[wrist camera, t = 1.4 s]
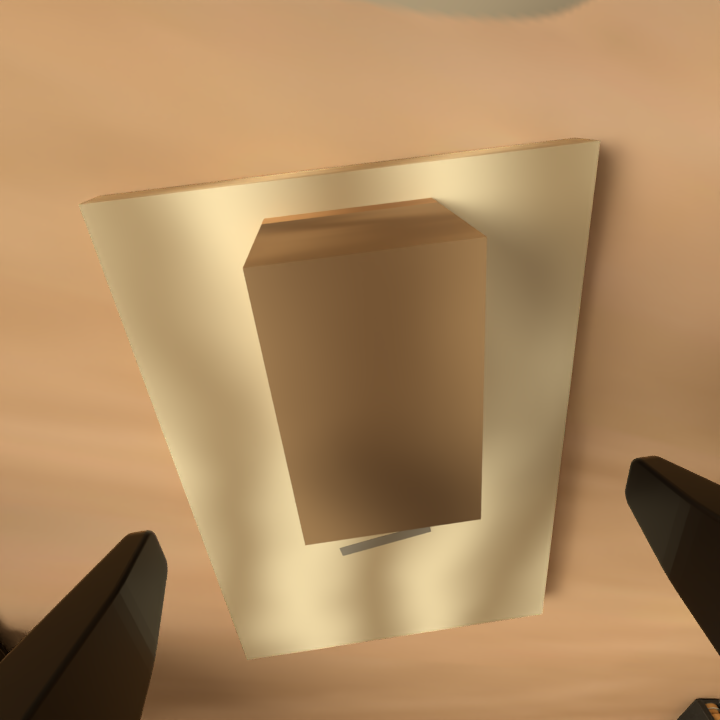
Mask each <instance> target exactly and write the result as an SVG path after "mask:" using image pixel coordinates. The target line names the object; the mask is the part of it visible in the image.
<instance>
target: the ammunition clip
mask: <svg viewBox="0 0 720 720" xmlns="http://www.w3.org/2000/svg"><path fill="white" fill-rule="evenodd" d="M677 720H720V700H709V699H696V700H695V701H694V702H693V703H692V704H691V705H690V706H689V707H688V708H687V709H686V711H685V712H684V713H683V714H682V715H681V716H680V717H679V718H678V719H677Z"/></svg>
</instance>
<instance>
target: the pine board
mask: <svg viewBox="0 0 720 720" xmlns="http://www.w3.org/2000/svg"><path fill="white" fill-rule="evenodd" d="M599 149H600V141H599V140H590V139H581V138H570V139H562V140H554V141H546V142H537V143H529V144H521V145H513V146H505V147H496V148H488V149H480V150H472V151H464V152H455V153H447V154H439V155H431V156H423V157H415V158H406V159H398V160H390V161H382V162H374V163H365V164H357V165H349V166H341V167H333V168H324V169H316V170H308V171H300V172H292V173H283V174H275V175H267V176H259V177H251V178H242V179H234V180H226V181H218V182H210V183H201V184H193V185H185V186H177V187H169V188H160V189H152V190H144V191H136V192H128V193H119V194H111V195H103V196H98V197H96V198H93V199H91V200H88V201H86V202H84V203H81V204H79V207H80V210H81V213H82V215H83V218H84V221H85V223H86V226H87V229H88V231H89V234H90V237H91V240H92V242H93V245H94V248H95V250H96V253H97V256H98V258H99V261H100V264H101V267H102V269H103V272H104V275H105V277H106V280H107V283H108V286H109V288H110V291H111V294H112V296H113V299H114V302H115V304H116V307H117V310H118V313H119V315H120V318H121V321H122V323H123V326H124V329H125V331H126V334H127V337H128V340H129V342H130V345H131V348H132V350H133V353H134V356H135V358H136V361H137V364H138V367H139V369H140V372H141V375H142V377H143V380H144V383H145V386H146V388H147V391H148V394H149V396H150V399H151V402H152V404H153V407H154V410H155V413H156V415H157V418H158V421H159V423H160V426H161V429H162V431H163V434H164V437H165V440H166V442H167V445H168V448H169V450H170V453H171V456H172V458H173V461H174V464H175V467H176V469H177V472H178V475H179V477H180V480H181V483H182V486H183V488H184V491H185V494H186V496H187V499H188V502H189V504H190V507H191V510H192V513H193V515H194V518H195V521H196V523H197V526H198V529H199V531H200V534H201V537H202V540H203V542H204V545H205V548H206V550H207V553H208V556H209V558H210V561H211V564H212V567H213V569H214V572H215V575H216V577H217V580H218V583H219V585H220V588H221V591H222V594H223V596H224V599H225V602H226V604H227V607H228V610H229V613H230V615H231V618H232V621H233V623H234V626H235V629H236V631H237V634H238V637H239V640H240V642H241V645H242V648H243V650H244V653H245V656H246V658H247V660H252V659H258V658H265V657H271V656H277V655H284V654H290V653H297V652H303V651H309V650H316V649H322V648H329V647H335V646H342V645H348V644H354V643H361V642H367V641H374V640H380V639H386V638H393V637H399V636H406V635H412V634H418V633H425V632H431V631H438V630H444V629H451V628H457V627H463V626H470V625H476V624H483V623H489V622H495V621H502V620H508V619H515V618H521V617H527V616H534V615H540V614H542V612H543V604H544V596H545V588H546V579H547V571H548V563H549V555H550V547H551V539H552V531H553V523H554V514H555V506H556V498H557V490H558V482H559V474H560V466H561V457H562V449H563V441H564V433H565V425H566V417H567V409H568V401H569V392H570V384H571V376H572V368H573V360H574V352H575V344H576V336H577V327H578V319H579V311H580V303H581V295H582V287H583V279H584V271H585V262H586V254H587V246H588V238H589V230H590V222H591V214H592V206H593V197H594V189H595V181H596V173H597V165H598V157H599ZM425 198H433V199H435V200H436V201H437V202H439V203H440V204H442V205H443V206H444V207H446V208H447V209H449V210H450V211H451V212H453V213H454V214H456V215H457V216H458V217H460V218H461V219H463V220H464V221H466V222H467V223H468V224H470V225H471V226H473V227H474V228H475V229H477V230H478V231H480V232H481V233H482V234H484V235H485V236H487V262H486V310H485V357H484V404H483V451H482V499H481V519H480V520H473V521H466V522H460V523H453V524H446V525H439V526H433V527H426V528H419V529H413V530H406V531H399V532H392V533H386V534H379V535H372V536H365V537H359V538H352V539H345V540H338V541H332V542H325V543H318V544H311V545H305V542H304V538H303V533H302V529H301V525H300V520H299V516H298V511H297V507H296V502H295V498H294V494H293V489H292V485H291V480H290V476H289V471H288V467H287V463H286V458H285V454H284V449H283V445H282V440H281V436H280V432H279V427H278V423H277V418H276V414H275V409H274V405H273V401H272V396H271V392H270V387H269V383H268V378H267V374H266V370H265V365H264V361H263V356H262V352H261V347H260V343H259V339H258V334H257V330H256V325H255V321H254V316H253V312H252V308H251V303H250V299H249V294H248V290H247V285H246V281H245V277H244V272H243V266H244V264H245V261H246V259H247V257H248V254H249V252H250V250H251V247H252V245H253V243H254V240H255V238H256V236H257V233H258V231H259V229H260V226H261V224H262V222H263V219H265V218H273V217H281V216H289V215H297V214H305V213H313V212H321V211H329V210H337V209H345V208H353V207H361V206H369V205H377V204H385V203H393V202H401V201H409V200H417V199H425Z"/></svg>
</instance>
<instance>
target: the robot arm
mask: <svg viewBox="0 0 720 720" xmlns="http://www.w3.org/2000/svg"><path fill="white" fill-rule="evenodd" d="M625 496H626V500H627V503H628V505H629V507H630V509H631V510H632V512H633V514H634V516H635V518H636V520H637V522H638V524H639V525H640V527H641V529H642V531H643V533H644V535H645V537H646V538H647V540H648V542H649V544H650V546H651V548H652V550H653V552H654V553H655V555H656V557H657V559H658V561H659V563H660V565H661V566H662V568H663V570H664V572H665V573H666V575H667V577H668V579H669V580H670V582H671V583H672V585H673V586H674V588H675V590H676V591H677V593H678V594H679V596H680V597H681V599H682V600H683V602H684V603H685V605H686V606H687V608H688V609H689V611H690V612H691V614H692V615H693V617H694V618H695V620H696V621H697V623H698V624H699V626H700V627H701V629H702V630H703V632H704V633H705V635H706V636H707V638H708V639H709V640H710V642H711V643H712V645H713V646H714V648H715V649H716V651H717V652H718V654H719V655H720V485H719V484H716V483H714V482H712V481H710V480H708V479H706V478H704V477H701V476H699V475H697V474H695V473H693V472H691V471H689V470H686V469H684V468H682V467H680V466H678V465H676V464H674V463H671V462H669V461H667V460H665V459H663V458H661V457H658V456H648V457H641V458H636V459H634V460H633V461H632V462H631V465H630V470H629V475H628V479H627V484H626V489H625ZM166 580H167V561H166V558H165V556H164V553H163V551H162V549H161V546H160V544H159V542H158V539H157V537H156V535H155V533H154V532H153V531H149V530H147V531H140V532H134V533H130V534H128V535H126V536H125V537H124V538H123V539H122V540H121V541H120V542H119V543H118V544H117V545H116V546H115V547H114V548H113V549H112V550H111V551H110V552H109V553H108V554H107V555H106V556H105V557H104V558H103V559H102V560H101V561H100V562H99V563H98V564H97V565H96V566H95V567H94V568H93V569H92V570H91V571H90V572H89V573H88V574H87V575H86V576H85V577H84V578H83V579H82V580H81V581H80V582H79V583H78V584H77V585H76V586H75V587H74V588H73V589H72V590H71V591H70V592H69V593H68V594H67V595H66V596H65V597H64V598H63V599H62V600H61V601H60V602H59V603H58V604H57V605H56V606H55V607H54V608H53V609H52V610H51V611H50V612H49V613H48V614H47V615H46V616H45V617H44V618H43V619H42V620H41V621H40V622H39V623H38V624H37V625H36V626H35V627H34V628H33V629H32V630H31V632H30V633H29V634H28V635H27V636H26V637H25V638H24V639H23V640H22V641H21V642H20V643H19V644H18V645H17V646H16V647H15V648H14V649H13V650H12V651H11V652H10V653H9V654H8V652H7V651H6V650H5V648H4V647H3V646H2V644H1V643H0V720H140V719H141V715H142V711H143V707H144V703H145V699H146V695H147V691H148V687H149V683H150V679H151V675H152V670H153V666H154V661H155V656H156V650H157V644H158V636H159V629H160V622H161V615H162V608H163V601H164V594H165V587H166Z"/></svg>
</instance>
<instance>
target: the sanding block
mask: <svg viewBox="0 0 720 720" xmlns="http://www.w3.org/2000/svg"><path fill="white" fill-rule="evenodd" d="M486 262H487V236H485V235H484V234H482V233H481V232H480V231H478V230H477V229H475V228H474V227H473V226H471V225H470V224H468V223H467V222H466V221H464V220H463V219H461V218H460V217H458V216H457V215H456V214H454V213H453V212H451V211H450V210H449V209H447V208H446V207H444V206H443V205H442V204H440V203H439V202H437V201H436V200H435V199H433V198H425V199H417V200H409V201H401V202H393V203H385V204H377V205H369V206H361V207H353V208H345V209H337V210H329V211H321V212H313V213H305V214H297V215H289V216H281V217H273V218H265V219H263V222H262V224H261V226H260V229H259V231H258V233H257V236H256V238H255V240H254V243H253V245H252V247H251V250H250V252H249V254H248V257H247V259H246V261H245V264H244V266H243V272H244V277H245V281H246V285H247V290H248V294H249V299H250V303H251V308H252V312H253V316H254V321H255V325H256V330H257V334H258V339H259V343H260V347H261V352H262V356H263V361H264V365H265V370H266V374H267V378H268V383H269V387H270V392H271V396H272V401H273V405H274V409H275V414H276V418H277V423H278V427H279V432H280V436H281V440H282V445H283V449H284V454H285V458H286V463H287V467H288V471H289V476H290V480H291V485H292V489H293V494H294V498H295V502H296V507H297V511H298V516H299V520H300V525H301V529H302V533H303V538H304V542H305V545H311V544H318V543H325V542H332V541H338V540H345V539H352V538H359V537H365V536H372V535H379V534H386V533H392V532H399V531H406V530H413V529H419V528H426V527H433V526H439V525H446V524H453V523H460V522H466V521H473V520H480V519H481V499H482V451H483V404H484V357H485V310H486Z"/></svg>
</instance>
